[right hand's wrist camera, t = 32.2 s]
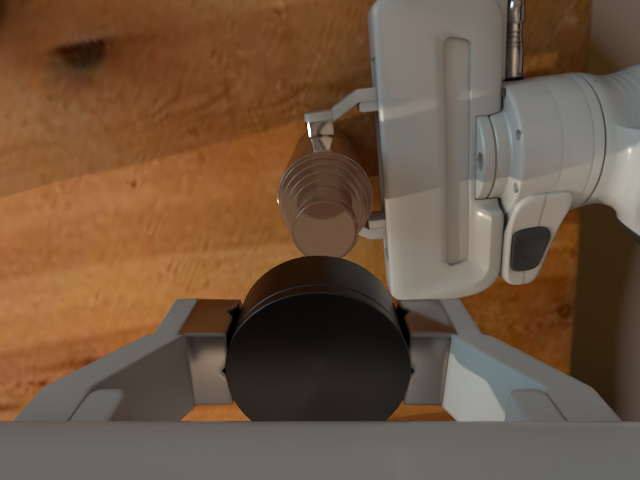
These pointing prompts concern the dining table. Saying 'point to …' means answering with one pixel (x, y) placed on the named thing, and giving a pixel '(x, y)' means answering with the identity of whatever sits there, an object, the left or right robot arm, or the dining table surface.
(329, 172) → the bottle
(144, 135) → the dining table surface
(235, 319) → the right robot arm
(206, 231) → the dining table surface
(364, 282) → the cap
